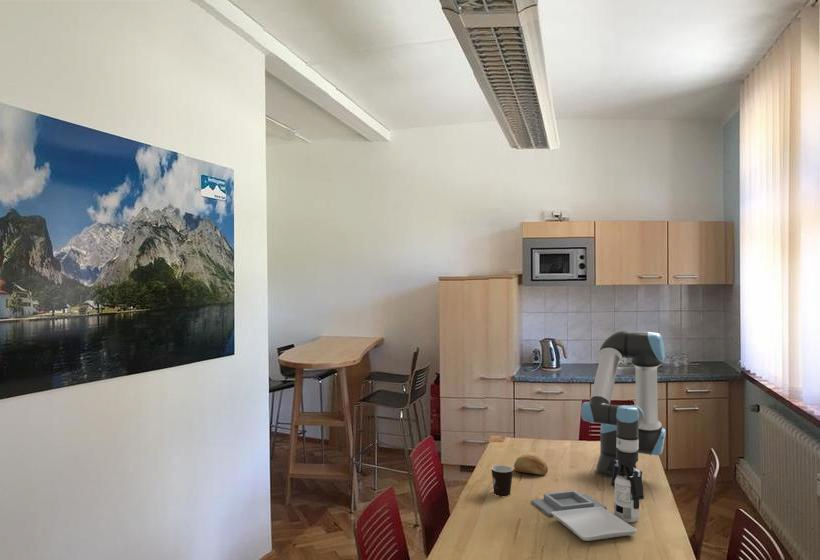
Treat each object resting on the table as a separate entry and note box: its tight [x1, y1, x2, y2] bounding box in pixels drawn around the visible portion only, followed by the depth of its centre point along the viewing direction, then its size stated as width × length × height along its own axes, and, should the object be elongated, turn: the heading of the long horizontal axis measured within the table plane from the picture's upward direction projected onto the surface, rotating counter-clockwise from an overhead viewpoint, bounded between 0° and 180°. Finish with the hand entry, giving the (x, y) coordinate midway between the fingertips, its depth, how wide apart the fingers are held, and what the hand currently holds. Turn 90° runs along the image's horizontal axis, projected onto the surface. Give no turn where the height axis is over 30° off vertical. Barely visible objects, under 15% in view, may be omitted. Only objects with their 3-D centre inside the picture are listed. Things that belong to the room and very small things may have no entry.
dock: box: [530, 489, 608, 518], centre depth 227 cm, size 24×14×3 cm, turn 107°
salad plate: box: [551, 507, 638, 542], centre depth 207 cm, size 21×21×3 cm
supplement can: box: [613, 475, 640, 524], centre depth 215 cm, size 8×8×15 cm
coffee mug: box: [490, 464, 514, 497], centre depth 241 cm, size 12×9×10 cm
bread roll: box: [513, 454, 549, 476], centre depth 264 cm, size 10×15×8 cm, turn 64°
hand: (626, 512), depth 215 cm, fingers closed on supplement can, 8 cm apart
